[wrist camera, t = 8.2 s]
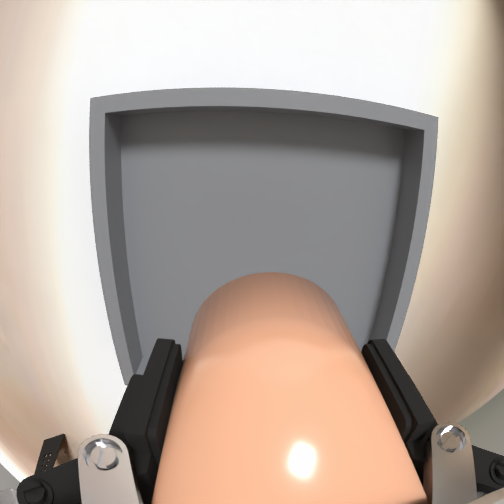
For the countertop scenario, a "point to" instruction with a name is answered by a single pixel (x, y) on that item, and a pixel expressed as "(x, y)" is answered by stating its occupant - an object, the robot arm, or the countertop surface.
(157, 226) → the grey square tray
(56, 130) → the countertop surface
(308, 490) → the terracotta cup
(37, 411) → the countertop surface
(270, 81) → the countertop surface
